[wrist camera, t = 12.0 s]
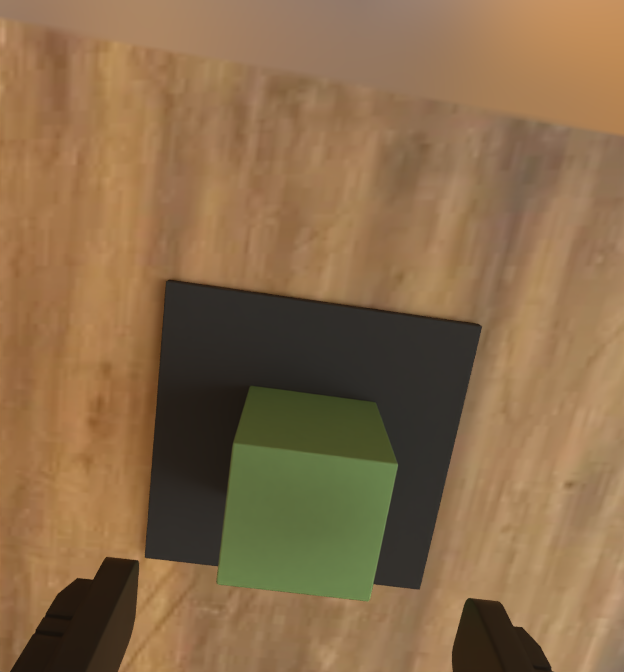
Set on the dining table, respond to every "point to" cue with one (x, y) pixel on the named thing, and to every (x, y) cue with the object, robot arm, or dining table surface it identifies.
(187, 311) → the mat
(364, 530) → the green cube
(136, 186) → the dining table surface
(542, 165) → the dining table surface
